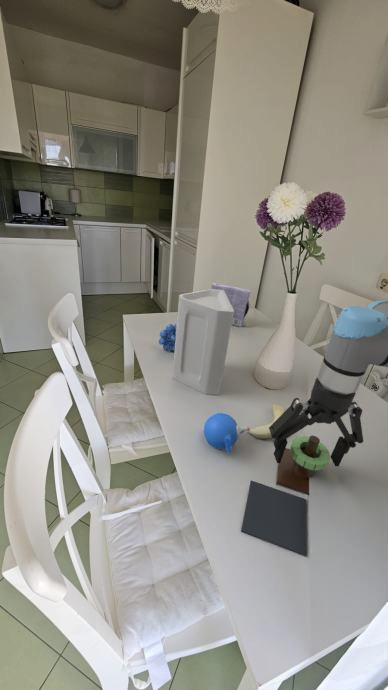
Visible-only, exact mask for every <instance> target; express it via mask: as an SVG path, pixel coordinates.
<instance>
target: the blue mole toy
mask: <svg viewBox="0 0 388 690" xmlns="http://www.w3.org/2000/svg"><path fill="white" fill-rule="evenodd" d="M250 429H251V427H250V426H241V425H238V423H237V422H236V418H234V417H233V416H231V414H228V413H225V412H217V413H213V414H212V415H210V416H209V417H208V418H207V420H206V421H205V423H204V426H203V434H204V438H205V441H206V442H207V444H209V446H210V447H212V448H213V449H216V450H226V453H227V454H231V452H232V446H233V445H235V444H236V442H237V440H238V438H239V437H240V436H242V435H243V434H244V433H245V432H248V431H249V430H250Z"/></svg>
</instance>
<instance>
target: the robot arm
mask: <svg viewBox="0 0 388 690" xmlns="http://www.w3.org/2000/svg"><path fill="white" fill-rule="evenodd" d="M369 365H373V366H376V367H377V366H378V367H385V368H388V300H383V299H382V300H376V301H375V300H374V301H373V302H371V303H369V304H368V305H367V306H361V305H348V306H346V307H344V308H343V309H341V311H340V313H339V315H338V317H337V320H336V322H335V324H334V326H333V328H332V332H331V336H330V339H329V341H328V345H327V348H326V351H325V354H324V357H323V359H322V361H321V364H320V367H319V370H318V373H317V377H316V378H315V380H314V384H313V386H312V389H311V393H310V398H309V399H308V400H306V401H303V400H300V398H299V397H294V398H293V400H292V402H291V404H290V405H289V407H288V408H286V410H285V412H284V413H283V414H282V415H281V416H280V417H279V418H278V419H277V420H276V421H275V422H274V423H273V424H272V425H271V426H270V427H269V430H270V433H271V436H272V437H271V438H273V439H274V440H273V446H274V451H273V455H274V459H275V462H276V464H278V463H280V462H281V459H282V457H283V454H284V451H285V448H287V445H288V440H287V439H289V438H290V437H291V436H293V435H294V434H296V433H298V432H299V431H301V430H302V429H304V428H306V427H307V426H312V425H314V424H327V425H332V423H335V424H336V426H337V427H338V429H339V431H340V432H341V434H342V435H343V436H338V439H337V441H336V443H335V446H334V448H333V450H332V452H331V454H330V460H331V461H332V463H333V465H334V467H338V468H339V467H340V465H341V462H342V460H343V458H344V456H345V455H347V454H348V453H349V451H350V449H351V448H352V449H353V448H356V446H357V444H363V443H364V435H363V428H362V421H361V417H362V413H363V409H362V408H361V407H360V405H359V404H358V402H356V401H354V398H355V397H356V392H357V391H358V390H359V388H360V386H361V383H362V381H363V379H364V376H365V374H366V372H367V370H368V368H369ZM346 414H348V416H349V423H350V428H351V429H350V430H351V433H350V431H348V428H347V427H346V425H345V423H344V421H343V420H342V417H344V416H345V415H346ZM309 415H310V417H309Z"/></svg>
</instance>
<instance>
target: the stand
mask: <svg viewBox="0 0 388 690" xmlns="http://www.w3.org/2000/svg"><path fill="white" fill-rule="evenodd" d="M308 437H309V440H308V443H307V445H306V447H302V448H300V449H301V451H302V452H303V453H304V454H305V455H307V456H308V457H312V458H319V456H318V454H317V453H316V450H317V447H318V445H319V442H321V440H320V438H319V437H318V436H316V435H310V436H308ZM276 470H277V471H276V480H275V485H277V486H280V487H283V488H286V489H289V490H292V491H294V492H298V493H300V494H304V495H307V496H310V478H312V477H314V476H315V474H316V472H317V470H316V471H314V469H313V470H310V469H307V468H304V466H303V467H302V466H301V465H300V464H298V463H297V462H296V461H295V460H294V459H293V457H292V456H291V454H290V448H287V447H286V448H285V451H284V454H283V457H282V459H281V462H280V463H277V469H276Z"/></svg>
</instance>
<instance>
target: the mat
mask: <svg viewBox="0 0 388 690" xmlns="http://www.w3.org/2000/svg"><path fill="white" fill-rule="evenodd" d="M242 518H243V519H242V523H241V528H240V532H241V533H244V534H247V535H249V536H252V537H254V538H257V539H259V540H262V541H265V542H267V543H269V544H272V545H276V546H277V547H280V548H283V549H286V550H288V551H291V552H293V553H295V554H298V555H301V556H304V557H307V499H306V498H304V497H301V496H299V495H295V494H292V493H290V492H287V491H283V490H281V489H277V488H274V487H272V486H269V485H266V484H263V483H260V482H258V481H254V480H252V479H250V482H249V487H248V492H247V497H246V502H245V507H244V513H243V517H242Z"/></svg>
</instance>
